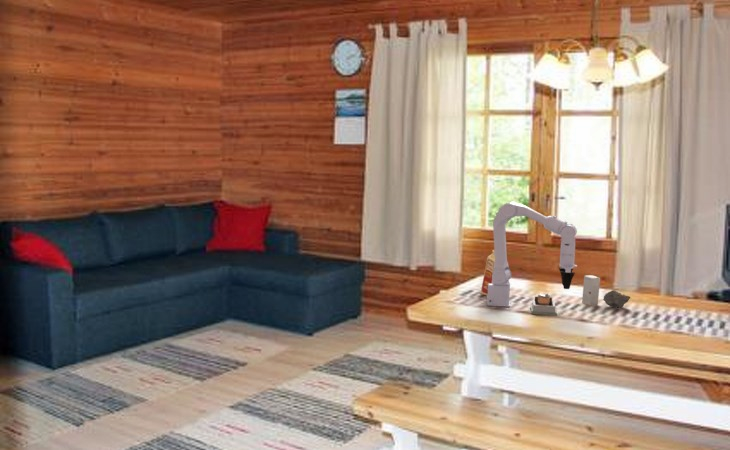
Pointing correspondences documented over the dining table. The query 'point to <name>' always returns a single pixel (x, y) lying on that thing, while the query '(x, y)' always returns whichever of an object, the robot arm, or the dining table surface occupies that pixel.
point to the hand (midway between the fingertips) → (565, 286)
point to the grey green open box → (543, 307)
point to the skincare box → (591, 290)
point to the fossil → (615, 299)
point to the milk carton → (488, 273)
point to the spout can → (543, 299)
